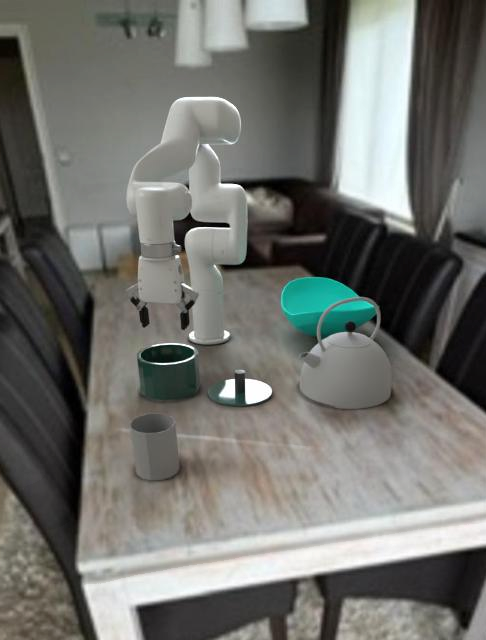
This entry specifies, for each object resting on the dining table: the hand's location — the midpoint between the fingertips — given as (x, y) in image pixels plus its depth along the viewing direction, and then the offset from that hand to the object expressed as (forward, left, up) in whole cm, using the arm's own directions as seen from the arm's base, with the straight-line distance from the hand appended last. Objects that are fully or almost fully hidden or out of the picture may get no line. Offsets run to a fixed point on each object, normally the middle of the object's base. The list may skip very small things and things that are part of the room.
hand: (165, 327), depth 134 cm
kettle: (-8, +42, -16) cm, 46 cm away
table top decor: (-49, +34, -16) cm, 62 cm away
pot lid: (0, +18, -15) cm, 24 cm away
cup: (+37, +10, -16) cm, 42 cm away
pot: (0, 0, -16) cm, 16 cm away
